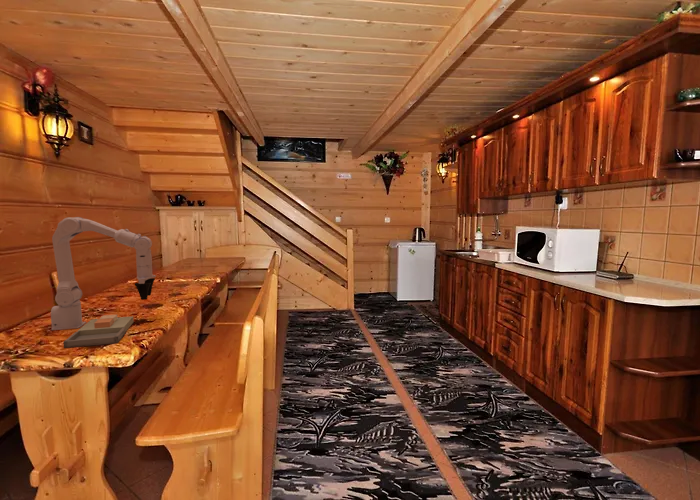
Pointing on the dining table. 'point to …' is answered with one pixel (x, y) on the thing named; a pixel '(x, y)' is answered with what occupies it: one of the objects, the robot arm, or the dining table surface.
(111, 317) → the cream tile
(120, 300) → the dining table surface
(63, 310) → the robot arm
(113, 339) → the box
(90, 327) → the beige square slab
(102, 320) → the terracotta tile
